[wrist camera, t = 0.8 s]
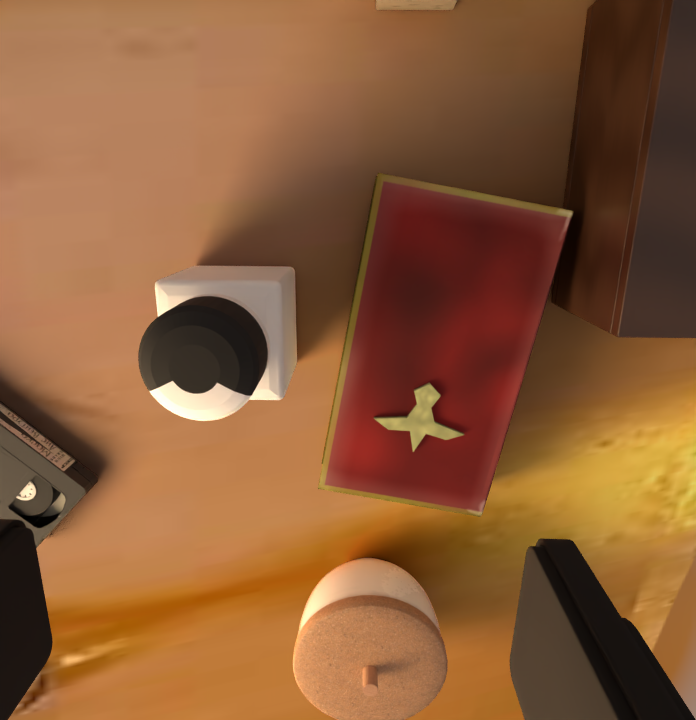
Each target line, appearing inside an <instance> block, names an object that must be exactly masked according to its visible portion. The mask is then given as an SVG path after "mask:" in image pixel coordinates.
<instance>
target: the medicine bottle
mask: <svg viewBox="0 0 696 720" xmlns="http://www.w3.org/2000/svg"><path fill="white" fill-rule="evenodd" d="M155 293H156V303H157V313H158V317H157V318H156V319H155V320H154V321H153V322H152V323H151V324H150V326H149V327H148V328H147V330H146V331H145V333H144V335H143V337H142V340H141V343H140V348H139V359H138V360H139V368H140V372H141V376H142V378H143V381H144V383H145V385H146V387H147V389H148V390H149V392H150V393H151V394H152V396H153V397H154V398H155V399H156V400H157V401H158V402H159V403H160V404H161V405H162V406H164V407H165V408H166V409H168V410H170V411H171V412H173V413H175V414H177V415H179V416H181V417H185V418H188V419H193V420H200V421H209V420H216V419H221V418H224V417H226V416H229V415H231V414H233V413H235V412H236V411H238V410H239V409H240V408H242V407H243V406H244V405H245V404H246V403H247V402H248V400H281V399H282V398H283V397H284V396H285V393H286V391H287V388H288V385H289V383H290V380H291V378H292V375H293V372H294V370H295V367H296V364H297V334H296V290H295V270H294V269H293V268H292V267H286V266H192V267H190V268H187V269H185V270H182V271H180V272H177V273H175V274H172V275H170V276H167V277H164V278H162V279H159V280H158V281H157V282H156V283H155Z"/></svg>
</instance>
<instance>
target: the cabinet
mask: <svg viewBox="0 0 696 720" xmlns="http://www.w3.org/2000/svg"><path fill="white" fill-rule="evenodd" d="M563 209H566V210H571V211H574V213H573V216H572V220H571V223H570V226H569V230H568V233H567V236H566V239H565V243H564V246H563V249H562V253H561V256H560V259H559V263H558V266H557V269H556V273H555V278H554V286H553V294H552V303H554V304H556V305H557V306H559V307H561V308H563V309H565V310H567V311H569V312H570V313H572V314H574V315H576V316H578V317H580V318H582V319H584V320H586V321H588V322H590V323H591V324H593V325H595V326H597V327H599V328H601V329H603V330H605V331H607V332H609V333H611V334H613V335H615V336H617V337H640V338H696V0H597V1H596V2H595V3H594V4H593V5H592V6H591V7H589V8H588V11H587V19H586V27H585V35H584V43H583V51H582V59H581V67H580V75H579V83H578V92H577V100H576V108H575V116H574V124H573V132H572V140H571V148H570V156H569V164H568V173H567V181H566V189H565V197H564V205H563Z"/></svg>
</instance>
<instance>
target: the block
mask: <svg viewBox="0 0 696 720" xmlns="http://www.w3.org/2000/svg"><path fill="white" fill-rule="evenodd" d="M456 2H457V0H376V10H453V8H454V6H455V4H456Z"/></svg>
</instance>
